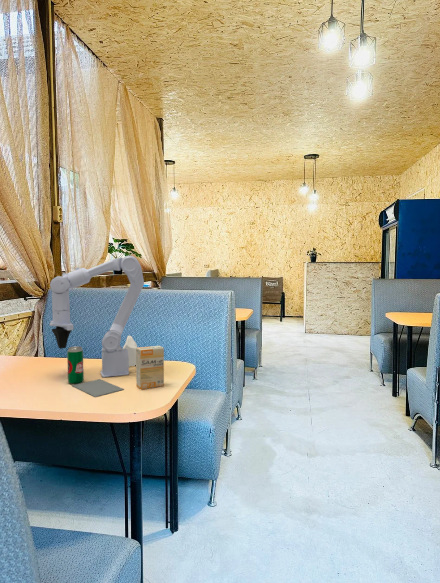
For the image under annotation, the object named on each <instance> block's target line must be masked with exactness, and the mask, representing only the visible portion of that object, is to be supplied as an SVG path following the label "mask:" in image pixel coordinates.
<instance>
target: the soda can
mask: <svg viewBox="0 0 440 583" xmlns="http://www.w3.org/2000/svg"><path fill="white" fill-rule="evenodd" d="M66 357H67V361H66V362H67V382H68V383H69V384H70V385H76V384H80V383H84V379H85V377H84V350H83V347H82V346H71V347H68V349H67V351H66Z"/></svg>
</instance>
